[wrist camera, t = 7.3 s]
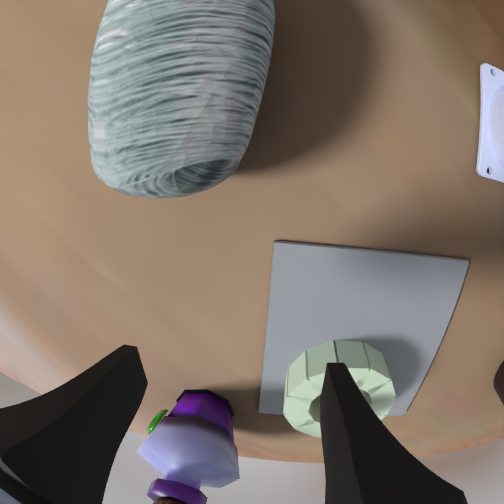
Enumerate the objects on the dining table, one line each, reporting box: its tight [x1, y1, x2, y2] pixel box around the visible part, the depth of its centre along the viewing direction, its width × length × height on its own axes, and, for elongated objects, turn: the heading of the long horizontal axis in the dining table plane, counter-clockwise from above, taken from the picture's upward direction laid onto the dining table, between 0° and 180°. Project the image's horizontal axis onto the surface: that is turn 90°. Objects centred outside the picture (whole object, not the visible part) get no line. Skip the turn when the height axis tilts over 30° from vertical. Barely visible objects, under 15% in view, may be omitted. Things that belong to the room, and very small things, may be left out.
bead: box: [283, 340, 396, 437], centre depth 21 cm, size 8×8×3 cm
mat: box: [258, 240, 469, 416], centre depth 21 cm, size 14×16×1 cm
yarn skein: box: [88, 0, 275, 198], centre depth 12 cm, size 14×10×10 cm
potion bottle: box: [137, 390, 240, 504], centre depth 20 cm, size 9×9×12 cm
